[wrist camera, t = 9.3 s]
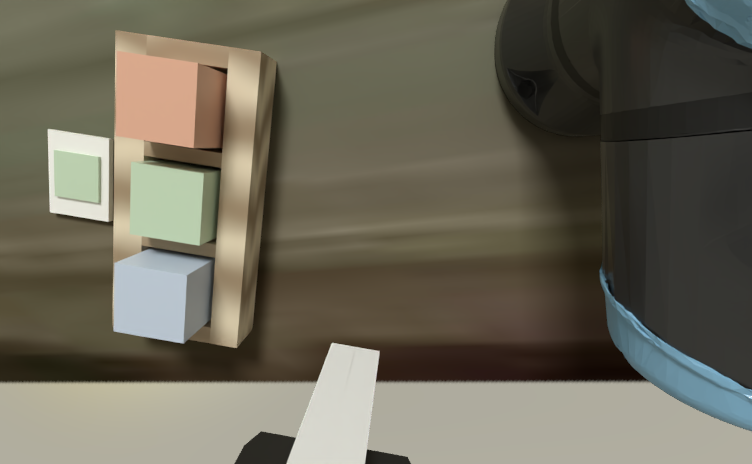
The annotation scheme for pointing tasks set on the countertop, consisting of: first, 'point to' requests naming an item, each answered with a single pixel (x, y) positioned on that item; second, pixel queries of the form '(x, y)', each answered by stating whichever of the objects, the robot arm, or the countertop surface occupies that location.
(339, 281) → the countertop surface
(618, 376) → the countertop surface
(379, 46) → the countertop surface
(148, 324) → the slate key
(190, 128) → the terracotta key
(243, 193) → the key panel
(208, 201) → the sage key
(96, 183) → the card
